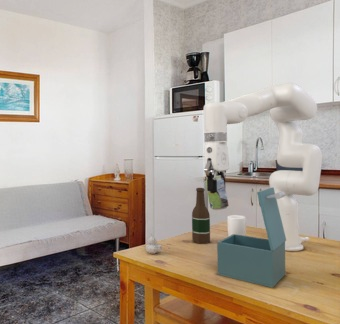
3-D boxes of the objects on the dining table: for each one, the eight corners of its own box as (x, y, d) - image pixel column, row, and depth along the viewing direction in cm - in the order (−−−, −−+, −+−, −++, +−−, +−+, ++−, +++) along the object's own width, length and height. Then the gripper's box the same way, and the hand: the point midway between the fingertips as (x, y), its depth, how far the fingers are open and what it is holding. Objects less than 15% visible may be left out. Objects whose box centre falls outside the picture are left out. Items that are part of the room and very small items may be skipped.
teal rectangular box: (217, 274, 112) (217, 242, 111) (233, 263, 121) (233, 233, 121) (272, 287, 100) (272, 251, 100) (285, 274, 110) (285, 241, 109)
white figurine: (147, 250, 139) (146, 231, 139) (163, 252, 137) (162, 232, 137) (144, 254, 134) (143, 234, 134) (160, 256, 132) (160, 236, 132)
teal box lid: (257, 192, 102) (274, 189, 98) (270, 187, 111) (287, 185, 108) (270, 250, 100) (289, 249, 96) (283, 240, 110) (301, 239, 106)
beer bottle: (212, 240, 152) (211, 187, 151) (208, 244, 145) (207, 189, 144) (194, 238, 156) (193, 186, 155) (189, 242, 149) (188, 188, 148)
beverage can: (230, 211, 115) (229, 176, 114) (207, 211, 116) (206, 176, 116) (226, 208, 121) (225, 174, 120) (205, 208, 122) (204, 175, 122)
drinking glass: (245, 253, 133) (245, 215, 132) (247, 258, 126) (247, 218, 126) (226, 251, 135) (226, 214, 134) (227, 257, 128) (227, 218, 128)
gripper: (214, 138, 109) (216, 193, 109) (236, 137, 121) (237, 188, 122) (193, 139, 114) (194, 192, 115) (215, 138, 126) (216, 186, 127)
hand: (216, 189), depth 118 cm, fingers closed on beverage can, 6 cm apart
